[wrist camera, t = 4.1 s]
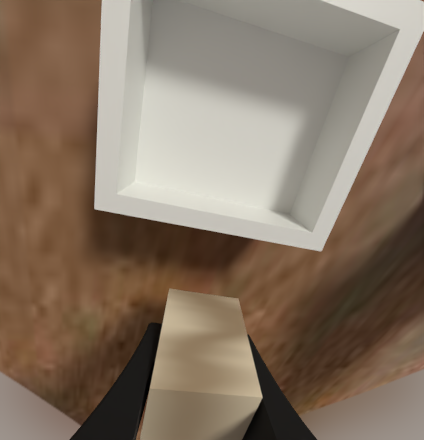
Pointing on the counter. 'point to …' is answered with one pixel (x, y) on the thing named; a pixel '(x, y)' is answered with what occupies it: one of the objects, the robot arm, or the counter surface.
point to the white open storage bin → (245, 109)
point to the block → (201, 372)
